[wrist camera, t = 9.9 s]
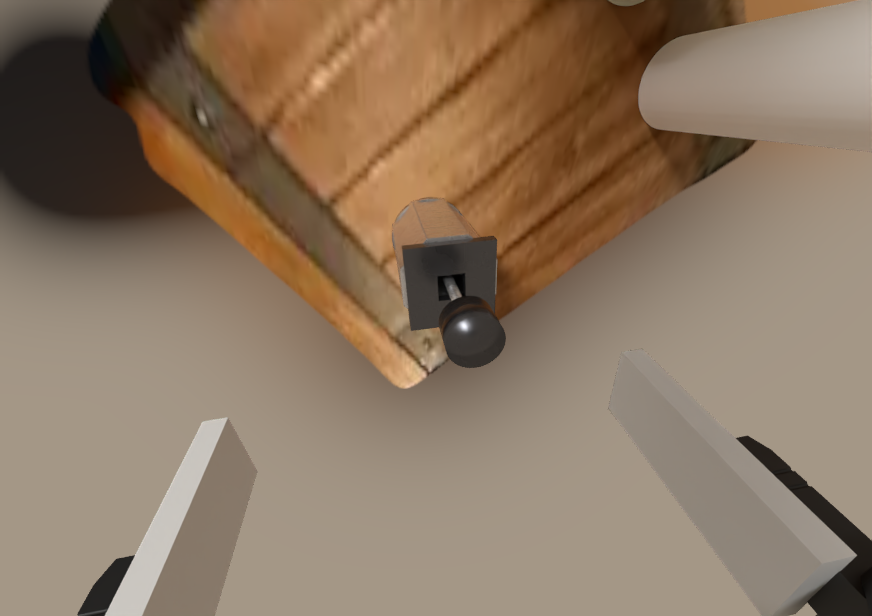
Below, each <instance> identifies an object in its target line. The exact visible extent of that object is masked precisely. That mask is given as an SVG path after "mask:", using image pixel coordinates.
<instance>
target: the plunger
mask: <svg viewBox="0 0 872 616" xmlns="http://www.w3.org/2000/svg"><path fill="white" fill-rule="evenodd" d="M442 278H443V281H444V283H445V286H446V288H447V291H448V293H449V296H450V298H451V302H449V303H448V304H447V305H446V306H445V307H444V308H443V310H442V312H441V314H440V317H439V328H440V332H441V335H442V339H443V342H444V345H445V349H446V352H447V355H448V357H449V358H450V359H451V360H452V361H453V362H454V363H455V364H457V365H459V366H462V367H467V368H474V367H480V366H483V365H486V364H488V363H490V362H491V361H493V360H494V359H495V358H496V357H497V356H498V355H499V354H500V353H501V351H502V350H503V348H504V345H505V339H506V337H505V332H504V330H503V328H502V326H501V325H500V323H499V321H498V319H497V317H496V316H495V314H494V312H493V310H492V309H491V307H490V305H489V304H488V303H487V302H486V301H485V300H483V299H482V298H480V297H477V296H462V295H461V293H460V291H459V289H458V287H457V285H456V282H455V280H454V278H453V276H452V275H444V276H442Z"/></svg>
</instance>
